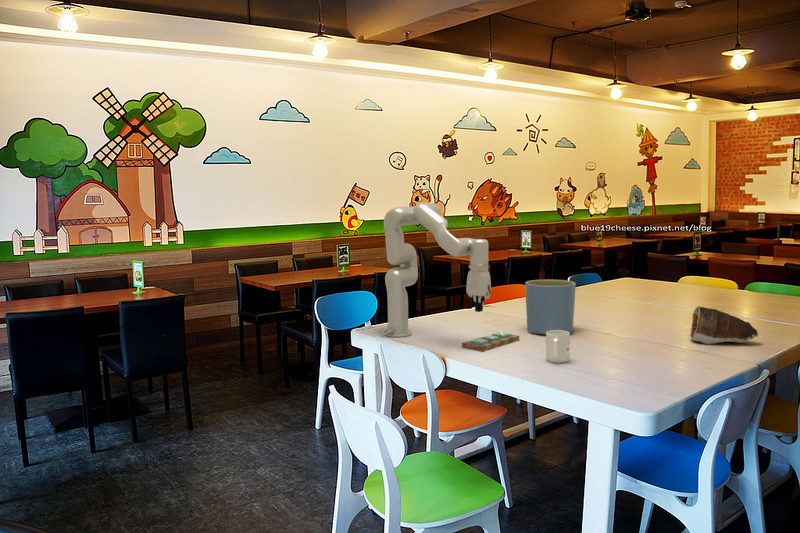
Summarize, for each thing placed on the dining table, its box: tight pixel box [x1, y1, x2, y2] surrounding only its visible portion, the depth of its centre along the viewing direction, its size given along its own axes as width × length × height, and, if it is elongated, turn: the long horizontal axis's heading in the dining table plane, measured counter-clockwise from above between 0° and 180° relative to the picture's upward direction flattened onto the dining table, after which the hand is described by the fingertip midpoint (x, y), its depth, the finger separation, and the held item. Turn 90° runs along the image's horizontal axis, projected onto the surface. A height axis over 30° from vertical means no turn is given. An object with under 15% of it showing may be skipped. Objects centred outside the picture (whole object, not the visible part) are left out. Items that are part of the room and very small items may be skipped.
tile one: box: [471, 337, 488, 345], centre depth 257 cm, size 5×5×3 cm
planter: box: [524, 279, 577, 335], centre depth 282 cm, size 23×23×24 cm
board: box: [461, 332, 520, 353], centre depth 262 cm, size 27×11×2 cm, turn 136°
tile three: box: [493, 331, 510, 338], centre depth 268 cm, size 5×5×3 cm
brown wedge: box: [689, 306, 759, 345], centre depth 256 cm, size 15×15×25 cm
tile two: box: [482, 334, 499, 342], centre depth 262 cm, size 5×5×3 cm
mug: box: [545, 330, 571, 364], centre depth 232 cm, size 12×9×11 cm
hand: (478, 311), depth 256 cm, fingers closed
